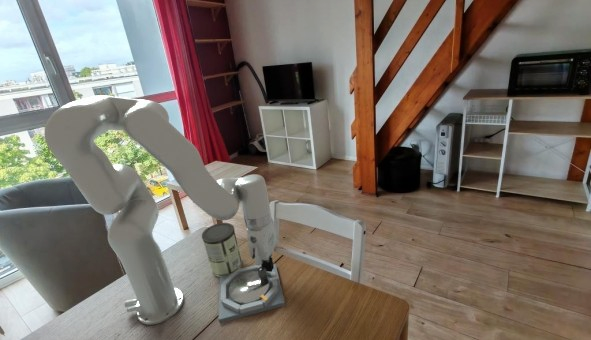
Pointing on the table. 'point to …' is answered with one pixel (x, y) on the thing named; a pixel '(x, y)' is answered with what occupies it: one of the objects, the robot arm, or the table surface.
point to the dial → (249, 286)
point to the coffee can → (222, 249)
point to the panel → (269, 301)
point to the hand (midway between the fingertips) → (268, 269)
